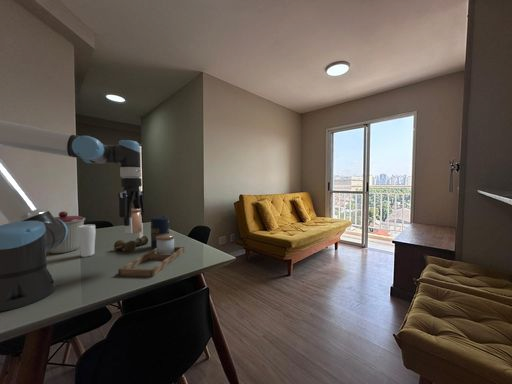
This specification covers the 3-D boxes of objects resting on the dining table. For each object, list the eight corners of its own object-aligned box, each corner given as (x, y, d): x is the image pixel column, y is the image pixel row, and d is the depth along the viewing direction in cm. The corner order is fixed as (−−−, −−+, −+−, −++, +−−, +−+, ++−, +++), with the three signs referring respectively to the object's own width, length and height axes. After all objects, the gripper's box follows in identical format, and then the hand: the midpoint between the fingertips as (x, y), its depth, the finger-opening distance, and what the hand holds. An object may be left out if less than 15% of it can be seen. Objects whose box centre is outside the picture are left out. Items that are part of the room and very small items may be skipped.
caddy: (152, 276, 79) (152, 270, 79) (118, 275, 80) (118, 269, 80) (184, 251, 108) (184, 247, 108) (158, 251, 109) (158, 246, 109)
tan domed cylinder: (136, 233, 85) (134, 210, 84) (121, 234, 85) (120, 210, 85) (145, 230, 91) (144, 208, 91) (131, 230, 92) (130, 208, 91)
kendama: (152, 245, 121) (120, 255, 102) (139, 244, 124) (106, 254, 105) (151, 235, 121) (120, 243, 102) (139, 234, 124) (106, 242, 105)
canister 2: (152, 245, 119) (152, 214, 118) (170, 243, 122) (169, 213, 121) (149, 250, 110) (148, 217, 109) (168, 248, 113) (168, 216, 112)
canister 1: (76, 243, 122) (75, 208, 121) (93, 248, 114) (92, 210, 113) (33, 253, 105) (31, 212, 104) (49, 258, 97) (47, 215, 96)
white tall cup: (99, 253, 105) (98, 224, 105) (87, 258, 98) (86, 227, 98) (87, 252, 106) (86, 224, 105) (74, 257, 99) (73, 227, 98)
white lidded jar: (169, 258, 98) (169, 238, 97) (152, 258, 98) (152, 237, 98) (177, 252, 106) (177, 233, 106) (162, 252, 107) (161, 233, 106)
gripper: (124, 177, 77) (127, 237, 79) (152, 177, 96) (154, 226, 97) (105, 177, 78) (108, 237, 79) (136, 178, 97) (139, 226, 98)
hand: (134, 231), depth 88 cm, fingers closed on tan domed cylinder, 6 cm apart
